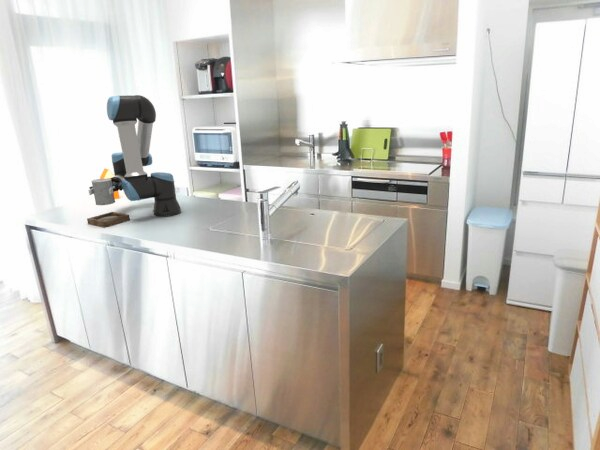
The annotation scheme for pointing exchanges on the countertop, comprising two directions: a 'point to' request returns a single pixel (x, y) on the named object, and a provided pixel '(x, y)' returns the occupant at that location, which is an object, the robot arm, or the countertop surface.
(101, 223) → the walnut seat tray
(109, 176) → the orange juice
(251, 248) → the countertop surface
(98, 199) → the speckled white cylinder
